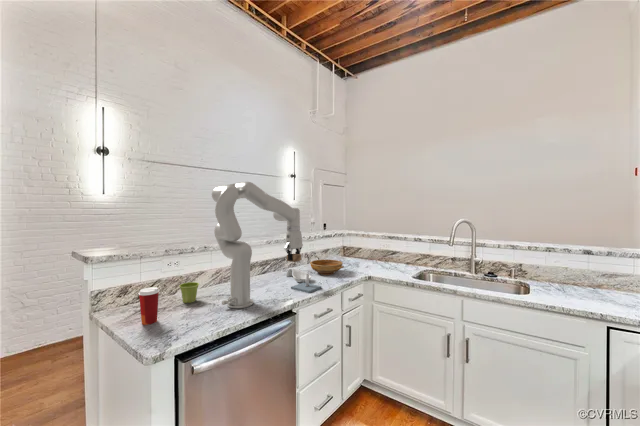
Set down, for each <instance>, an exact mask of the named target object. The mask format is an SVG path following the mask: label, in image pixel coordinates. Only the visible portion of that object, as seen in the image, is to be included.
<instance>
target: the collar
mask: <svg viewBox="0 0 640 426" xmlns="http://www.w3.org/2000/svg"><path fill="white" fill-rule="evenodd" d="M292 254H293V256H292V258H293V260H292V261H290V260H288V254H286V262H292V263H296V262H300V261H302V254H301V253H300V254H295V252H294V253H293V252H292Z"/></svg>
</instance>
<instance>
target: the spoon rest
mask: <svg viewBox="0 0 640 426" xmlns="http://www.w3.org/2000/svg"><path fill="white" fill-rule="evenodd" d="M306 273H307V272H305V271H302V270H300V269H299V268H297V267H290V268H288V270H287V271H286V274H285V276H286V277H293V279H294V281H296V282H297V283H298V284H301V283H306ZM311 279H312V276H311V275H310V274H309V281H310V280H311Z"/></svg>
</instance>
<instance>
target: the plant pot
mask: <svg viewBox="0 0 640 426" xmlns="http://www.w3.org/2000/svg"><path fill="white" fill-rule="evenodd" d="M199 285H200V283H199V282H197V281H191V282H190V281H189V282H185V283H181V284H179V289H180V293H181V298H182V302H183V303H184V304H187V303H189V304H190V303H194V302H196V300H197V294H198V288H199Z"/></svg>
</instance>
